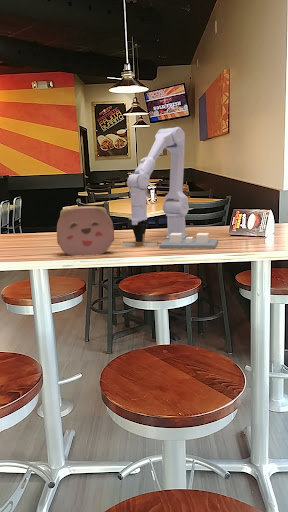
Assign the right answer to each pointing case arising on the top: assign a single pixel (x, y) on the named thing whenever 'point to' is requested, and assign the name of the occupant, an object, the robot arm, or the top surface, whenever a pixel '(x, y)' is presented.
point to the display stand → (189, 241)
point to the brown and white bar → (140, 243)
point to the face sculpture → (84, 230)
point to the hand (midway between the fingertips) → (140, 241)
